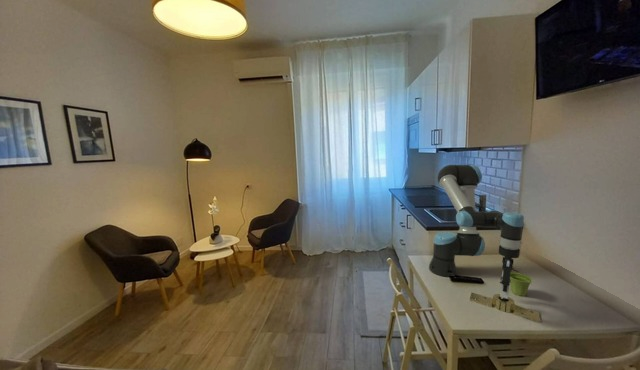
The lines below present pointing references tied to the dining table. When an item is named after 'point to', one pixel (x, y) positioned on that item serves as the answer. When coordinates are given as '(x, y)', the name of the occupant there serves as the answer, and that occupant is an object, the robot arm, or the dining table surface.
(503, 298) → the pin
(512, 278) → the plant pot
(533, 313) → the hinge
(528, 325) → the dining table surface
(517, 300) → the dining table surface
